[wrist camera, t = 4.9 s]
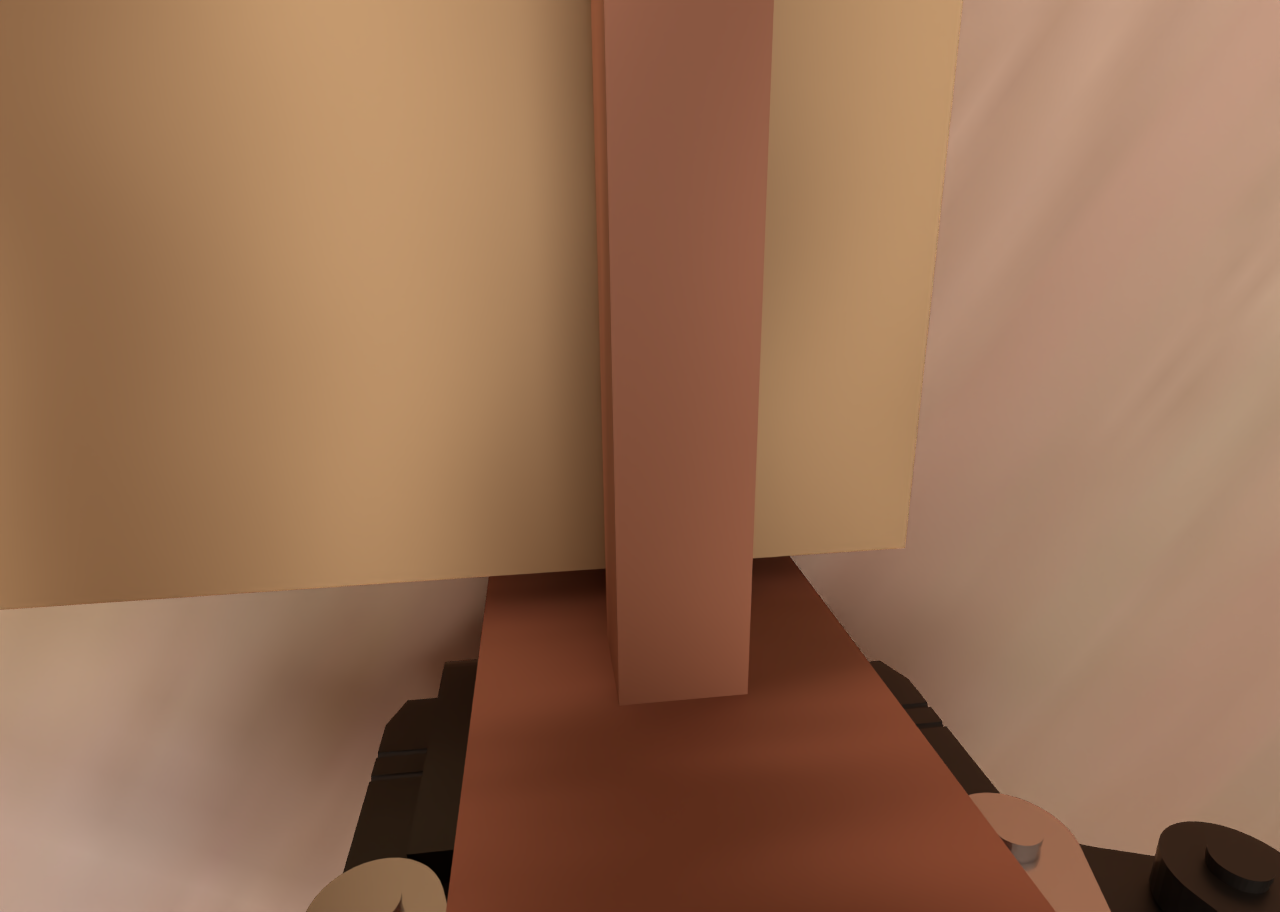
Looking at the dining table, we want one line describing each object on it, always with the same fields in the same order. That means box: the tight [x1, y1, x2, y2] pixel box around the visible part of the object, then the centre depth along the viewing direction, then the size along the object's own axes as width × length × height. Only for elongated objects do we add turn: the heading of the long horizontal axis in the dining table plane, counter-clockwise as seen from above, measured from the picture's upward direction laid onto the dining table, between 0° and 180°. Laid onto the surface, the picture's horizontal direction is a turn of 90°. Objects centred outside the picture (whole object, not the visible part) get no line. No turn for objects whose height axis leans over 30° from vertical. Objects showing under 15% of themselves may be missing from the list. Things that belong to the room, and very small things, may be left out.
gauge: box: [446, 0, 1056, 912], centre depth 8 cm, size 4×13×7 cm, turn 0°
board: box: [0, 0, 963, 610], centre depth 9 cm, size 19×7×2 cm, turn 90°
